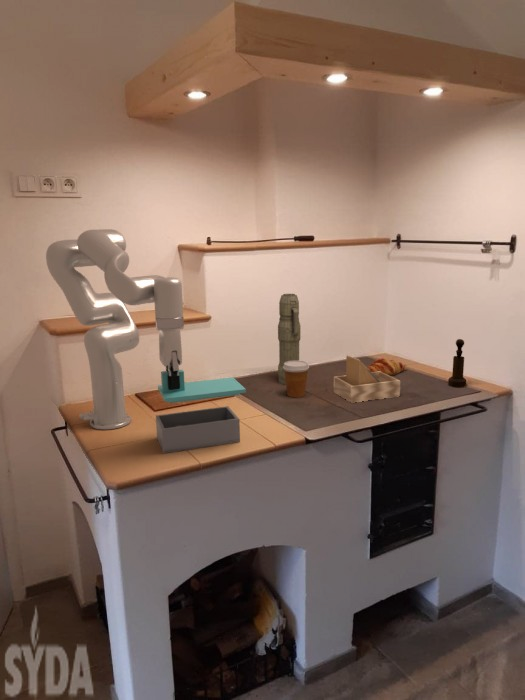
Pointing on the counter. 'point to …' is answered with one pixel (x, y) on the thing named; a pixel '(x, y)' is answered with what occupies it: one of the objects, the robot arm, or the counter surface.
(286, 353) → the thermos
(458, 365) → the dark brown tall piece
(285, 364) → the disposable coffee cup
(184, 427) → the tub
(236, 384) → the lid
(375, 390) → the open rectangular storage box
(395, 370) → the croissant
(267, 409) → the counter surface
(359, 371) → the sandwich container
